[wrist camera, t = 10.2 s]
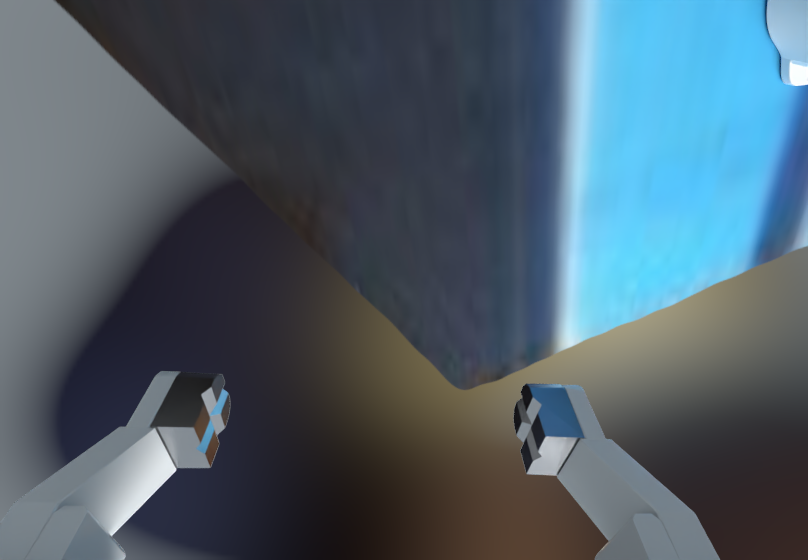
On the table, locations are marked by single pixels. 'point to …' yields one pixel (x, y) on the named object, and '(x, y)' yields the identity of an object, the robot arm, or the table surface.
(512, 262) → the table surface
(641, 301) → the table surface
